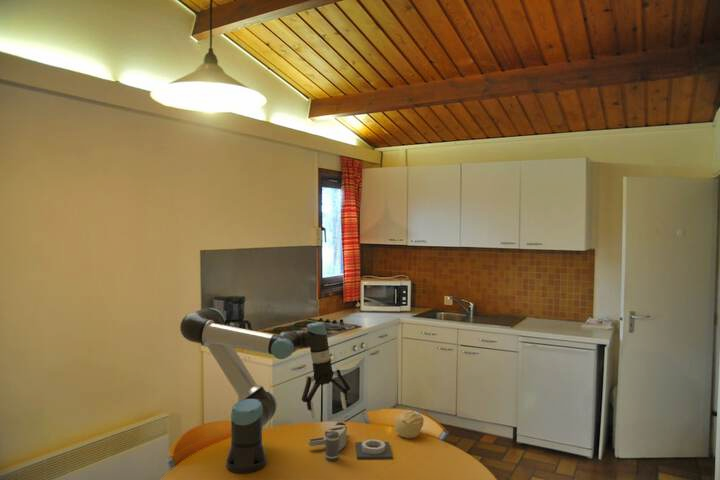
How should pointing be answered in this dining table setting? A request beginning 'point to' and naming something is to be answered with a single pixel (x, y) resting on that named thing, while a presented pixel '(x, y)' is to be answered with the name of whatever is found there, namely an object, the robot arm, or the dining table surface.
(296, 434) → the dining table surface
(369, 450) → the mount
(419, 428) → the cream crumpled ball
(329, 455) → the lens
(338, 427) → the film camera
